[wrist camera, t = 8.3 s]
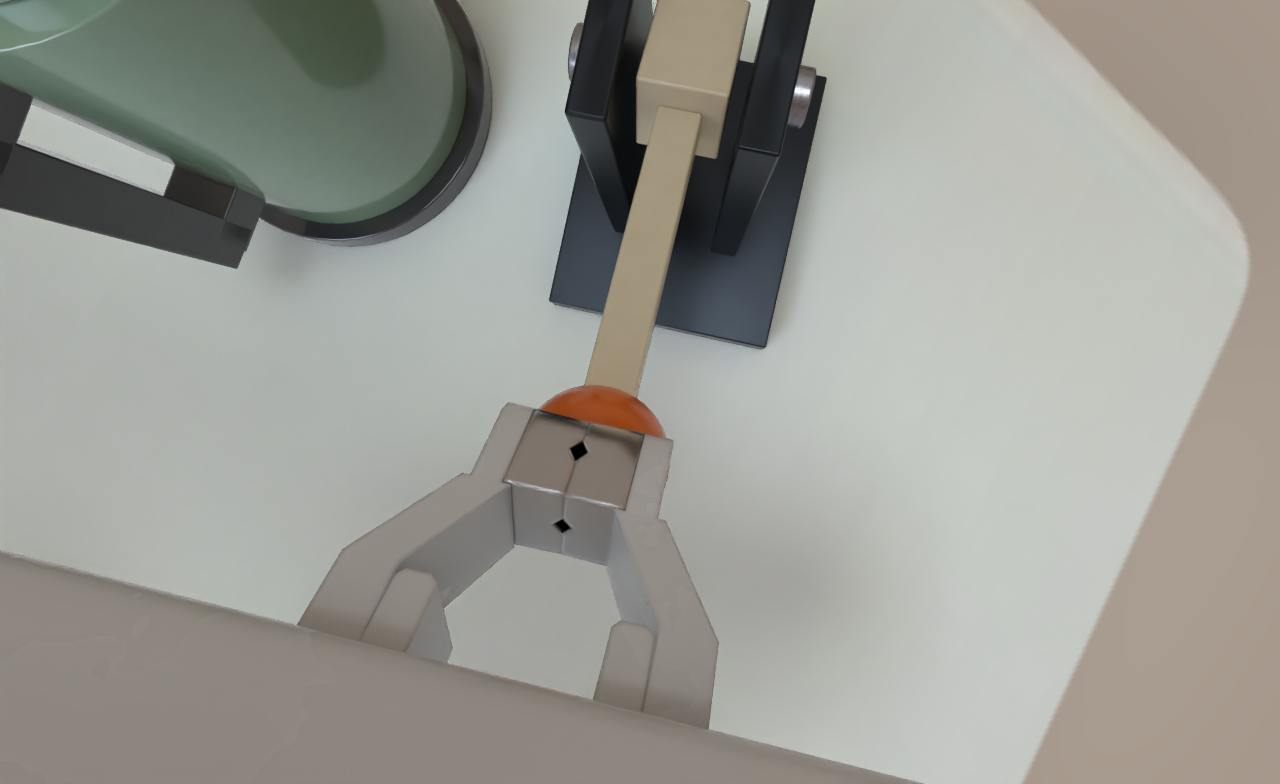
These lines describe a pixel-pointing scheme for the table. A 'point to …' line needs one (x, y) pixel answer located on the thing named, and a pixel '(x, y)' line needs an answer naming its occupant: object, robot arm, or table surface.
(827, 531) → the table surface
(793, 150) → the switch bracket
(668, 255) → the switch lever
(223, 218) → the green canister
